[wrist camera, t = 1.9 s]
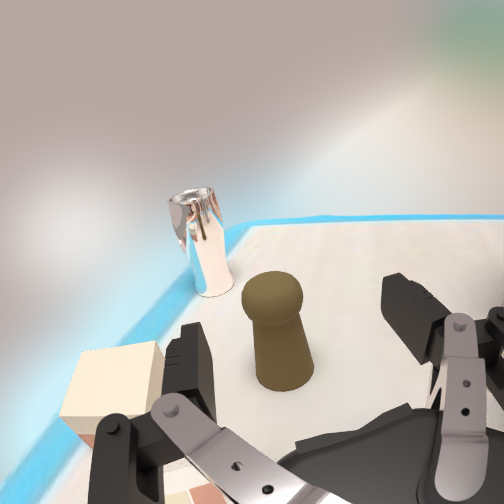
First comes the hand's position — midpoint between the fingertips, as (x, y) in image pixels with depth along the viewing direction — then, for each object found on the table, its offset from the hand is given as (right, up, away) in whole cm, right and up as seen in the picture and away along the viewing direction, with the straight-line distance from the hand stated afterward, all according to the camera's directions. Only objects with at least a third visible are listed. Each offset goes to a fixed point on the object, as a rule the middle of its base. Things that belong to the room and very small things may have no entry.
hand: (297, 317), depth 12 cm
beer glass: (-8, -3, +35) cm, 36 cm away
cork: (+2, -9, +17) cm, 20 cm away
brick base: (-14, -14, +14) cm, 24 cm away
